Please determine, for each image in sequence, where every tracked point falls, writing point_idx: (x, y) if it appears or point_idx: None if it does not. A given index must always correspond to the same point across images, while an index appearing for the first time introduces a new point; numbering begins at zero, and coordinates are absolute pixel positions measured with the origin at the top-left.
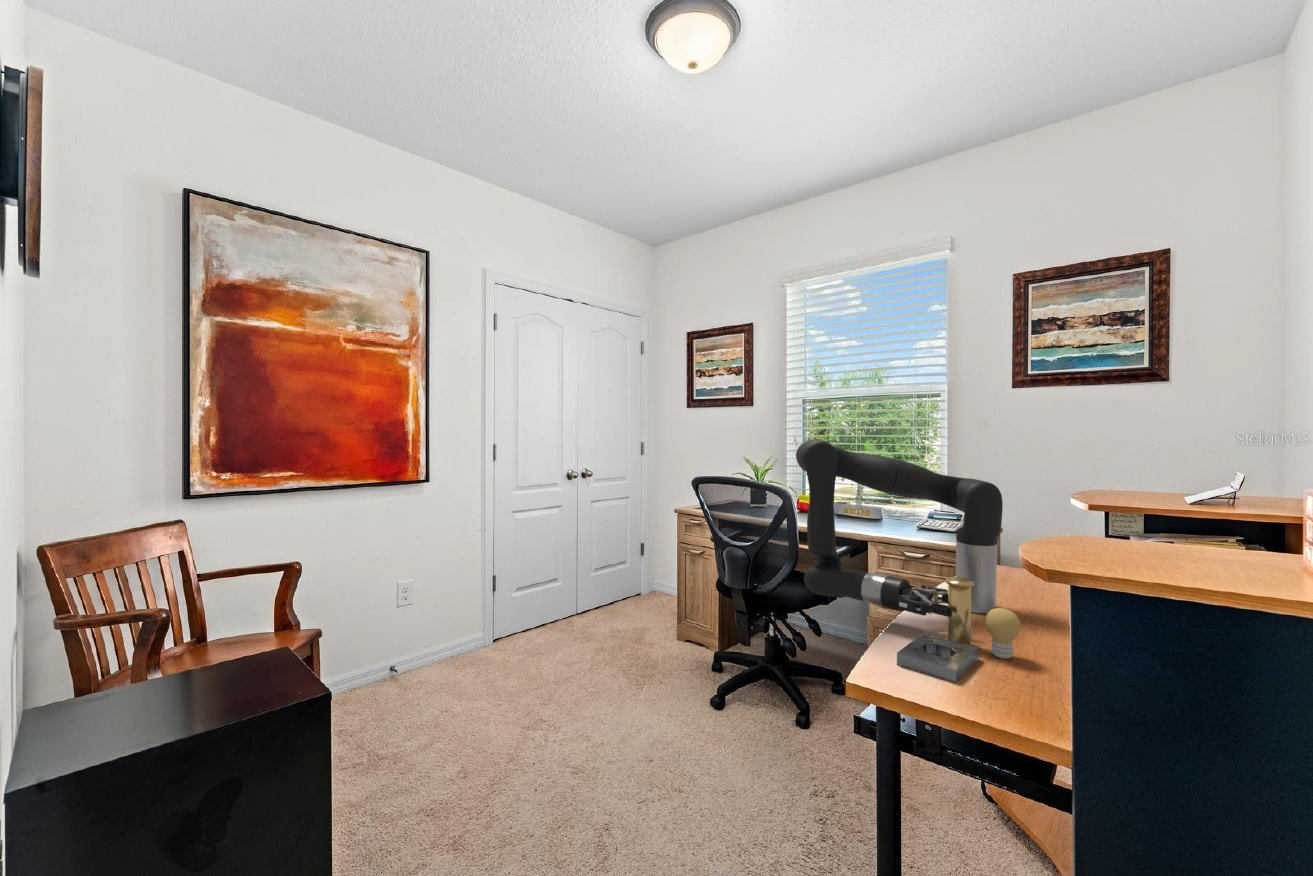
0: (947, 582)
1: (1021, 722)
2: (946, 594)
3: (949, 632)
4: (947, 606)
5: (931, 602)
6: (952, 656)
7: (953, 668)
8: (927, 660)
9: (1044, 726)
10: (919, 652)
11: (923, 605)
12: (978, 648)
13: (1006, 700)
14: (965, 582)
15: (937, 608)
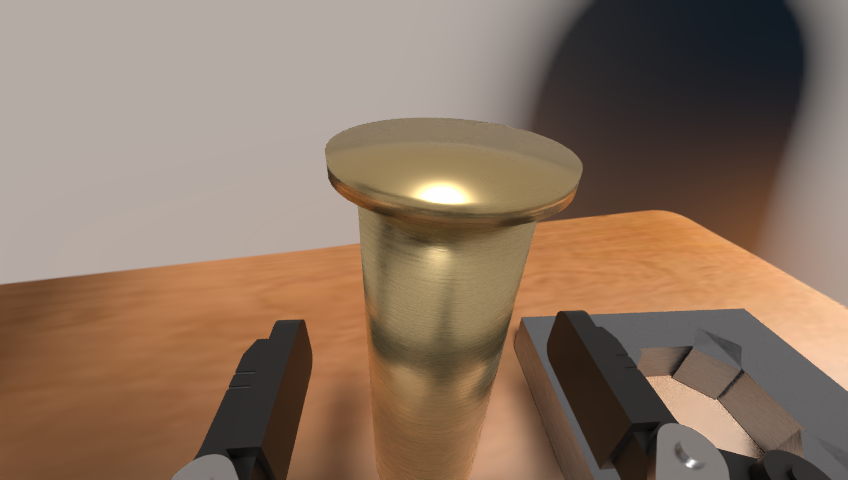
0: (572, 191)
1: (682, 236)
2: (234, 467)
3: (472, 456)
4: (592, 321)
5: (670, 437)
6: (685, 344)
7: (746, 314)
8: (833, 387)
9: (651, 221)
10: (843, 448)
11: (813, 471)
12: (524, 318)
13: (646, 259)
14: (466, 130)
15: (644, 390)
